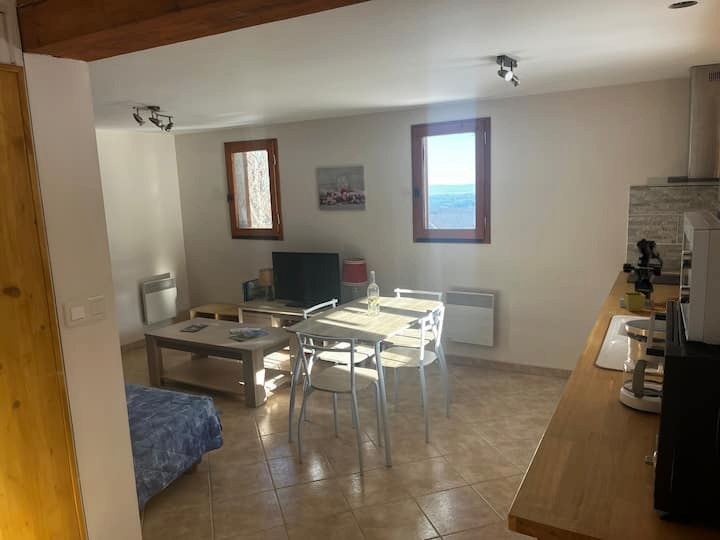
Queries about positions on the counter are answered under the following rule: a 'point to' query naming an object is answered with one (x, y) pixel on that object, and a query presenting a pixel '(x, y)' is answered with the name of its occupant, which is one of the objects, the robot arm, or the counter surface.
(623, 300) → the grey block
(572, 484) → the counter surface
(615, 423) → the counter surface
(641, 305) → the flower pot
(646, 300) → the walnut block
